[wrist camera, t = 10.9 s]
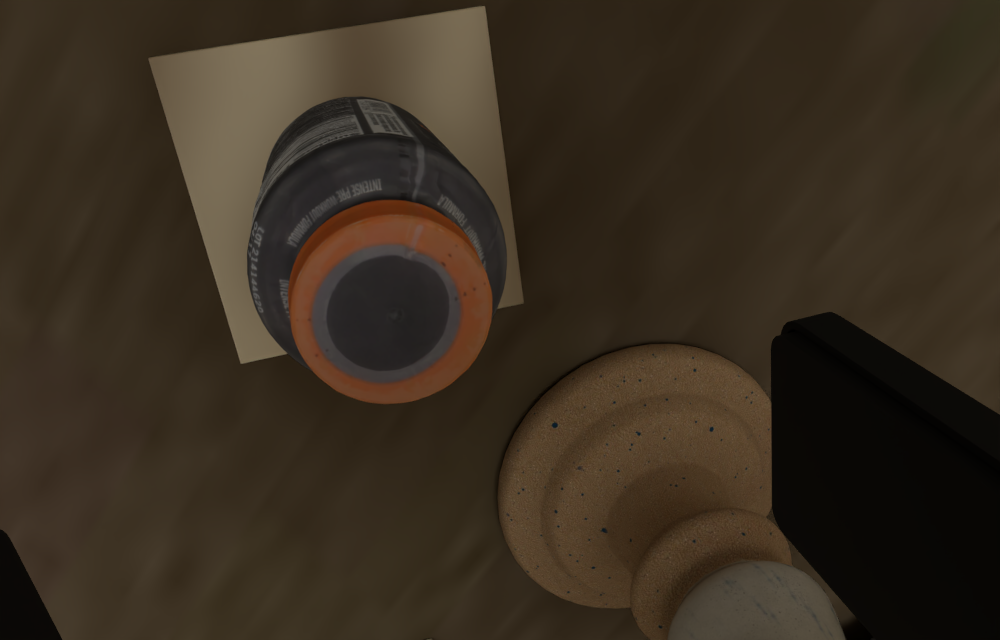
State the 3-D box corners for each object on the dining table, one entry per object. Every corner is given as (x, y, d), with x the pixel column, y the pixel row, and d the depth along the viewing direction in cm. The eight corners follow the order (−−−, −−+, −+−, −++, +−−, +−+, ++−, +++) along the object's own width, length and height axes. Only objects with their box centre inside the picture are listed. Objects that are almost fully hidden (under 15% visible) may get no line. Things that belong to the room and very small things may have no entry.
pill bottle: (461, 259, 27) (553, 421, 17) (286, 290, 26) (273, 481, 16) (436, 80, 25) (527, 143, 14) (243, 108, 24) (195, 195, 14)
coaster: (480, 5, 25) (484, 6, 24) (519, 297, 29) (523, 303, 28) (151, 56, 23) (148, 58, 23) (242, 356, 27) (241, 363, 27)
